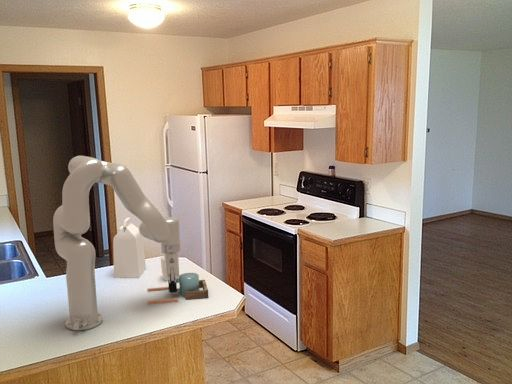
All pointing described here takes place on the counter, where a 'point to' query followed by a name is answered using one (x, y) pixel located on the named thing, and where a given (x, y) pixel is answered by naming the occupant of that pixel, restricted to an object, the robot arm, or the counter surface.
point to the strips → (162, 299)
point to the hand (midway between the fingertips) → (172, 290)
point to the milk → (128, 252)
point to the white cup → (165, 269)
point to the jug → (187, 283)
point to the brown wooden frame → (198, 292)
